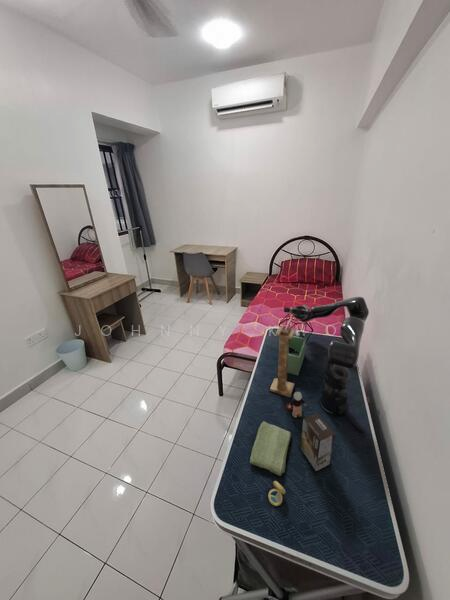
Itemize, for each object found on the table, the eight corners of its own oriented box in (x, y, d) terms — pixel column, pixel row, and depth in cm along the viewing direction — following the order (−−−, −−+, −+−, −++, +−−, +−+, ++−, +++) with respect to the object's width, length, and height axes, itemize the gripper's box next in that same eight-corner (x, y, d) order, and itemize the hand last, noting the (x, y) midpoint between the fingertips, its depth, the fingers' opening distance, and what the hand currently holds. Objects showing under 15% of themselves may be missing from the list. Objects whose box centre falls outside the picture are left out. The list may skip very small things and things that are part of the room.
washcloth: (292, 434, 96) (292, 428, 94) (283, 479, 81) (283, 474, 80) (260, 423, 101) (260, 418, 99) (246, 464, 86) (246, 459, 85)
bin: (304, 355, 138) (306, 338, 133) (298, 375, 124) (299, 357, 119) (286, 351, 143) (287, 334, 137) (278, 370, 129) (278, 352, 124)
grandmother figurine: (300, 408, 106) (303, 387, 101) (306, 415, 103) (308, 393, 97) (285, 413, 104) (287, 392, 99) (290, 421, 101) (292, 399, 95)
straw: (292, 320, 111) (292, 317, 111) (285, 334, 101) (285, 331, 100) (290, 319, 112) (290, 317, 111) (282, 333, 101) (282, 331, 101)
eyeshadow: (265, 497, 77) (265, 489, 75) (274, 485, 80) (275, 476, 78) (277, 509, 74) (277, 501, 72) (286, 495, 77) (286, 487, 75)
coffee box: (330, 464, 85) (336, 434, 78) (315, 471, 83) (320, 442, 76) (313, 441, 92) (317, 412, 86) (299, 447, 91) (302, 418, 84)
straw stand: (294, 385, 118) (299, 326, 103) (290, 397, 112) (295, 335, 97) (274, 379, 122) (276, 321, 107) (269, 390, 116) (271, 330, 101)
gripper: (289, 304, 137) (283, 301, 123) (315, 308, 131) (312, 306, 117) (286, 316, 137) (280, 316, 123) (312, 321, 131) (309, 321, 116)
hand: (296, 311), depth 120 cm, fingers open, 8 cm apart
